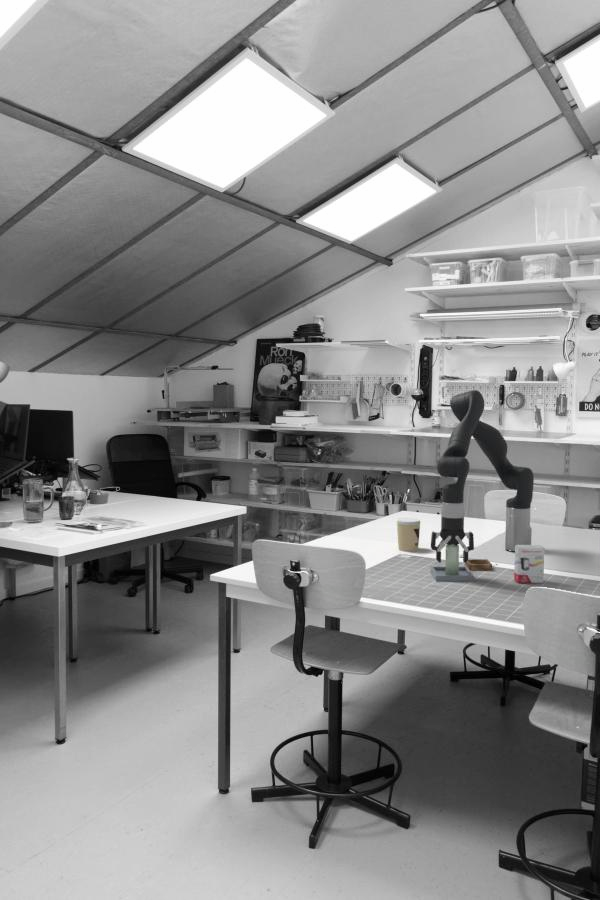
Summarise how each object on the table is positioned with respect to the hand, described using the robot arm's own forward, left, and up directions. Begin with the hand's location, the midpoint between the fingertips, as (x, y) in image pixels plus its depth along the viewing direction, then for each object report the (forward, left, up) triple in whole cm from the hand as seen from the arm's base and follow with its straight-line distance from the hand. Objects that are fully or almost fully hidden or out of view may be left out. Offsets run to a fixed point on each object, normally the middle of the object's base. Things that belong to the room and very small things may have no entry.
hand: (451, 562), depth 242 cm
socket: (-12, -12, -5) cm, 18 cm away
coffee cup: (+10, -40, -5) cm, 42 cm away
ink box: (-24, +6, -5) cm, 26 cm away
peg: (0, 0, -4) cm, 4 cm away
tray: (0, 0, -5) cm, 5 cm away
